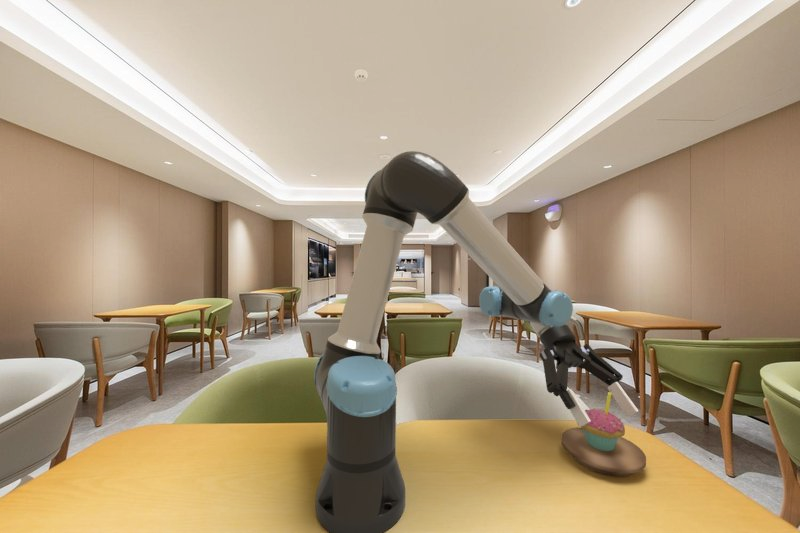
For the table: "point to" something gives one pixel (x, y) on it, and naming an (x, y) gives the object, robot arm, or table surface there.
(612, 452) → the brown plate
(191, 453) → the table surface
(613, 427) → the cupcake
